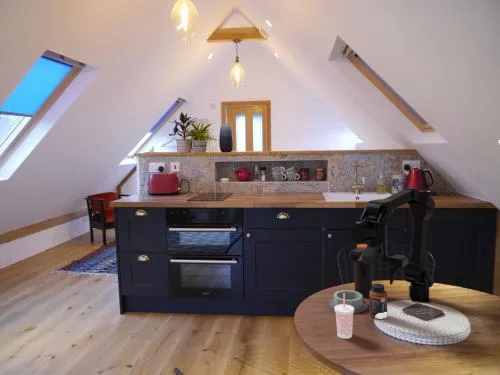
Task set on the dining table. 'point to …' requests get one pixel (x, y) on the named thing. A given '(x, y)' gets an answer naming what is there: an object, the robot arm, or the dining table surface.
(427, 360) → the dining table surface
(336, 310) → the beverage cup
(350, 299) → the can holder
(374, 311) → the supplement bottle
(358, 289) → the vinegar
